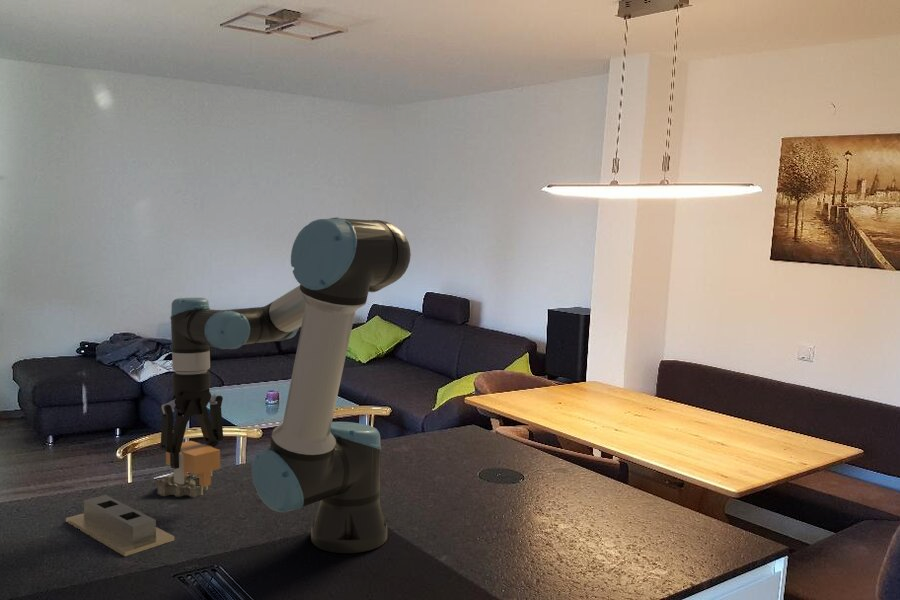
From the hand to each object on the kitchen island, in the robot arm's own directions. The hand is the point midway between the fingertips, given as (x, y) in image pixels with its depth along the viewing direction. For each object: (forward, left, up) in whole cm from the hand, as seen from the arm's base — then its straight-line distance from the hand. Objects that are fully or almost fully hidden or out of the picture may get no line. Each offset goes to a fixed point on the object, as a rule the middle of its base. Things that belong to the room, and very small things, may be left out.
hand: (193, 478), depth 159 cm
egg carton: (+14, -6, -8) cm, 17 cm away
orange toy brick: (0, 0, 0) cm, 0 cm away
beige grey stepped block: (+3, +15, -8) cm, 17 cm away
